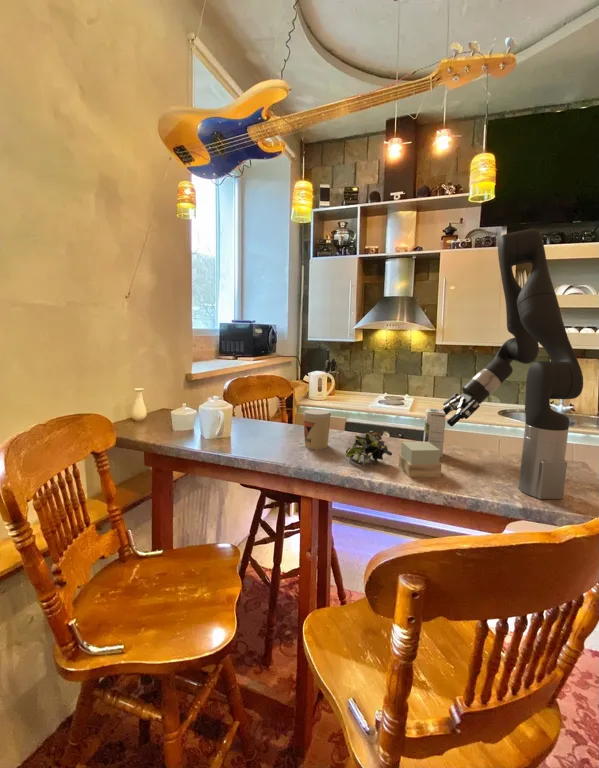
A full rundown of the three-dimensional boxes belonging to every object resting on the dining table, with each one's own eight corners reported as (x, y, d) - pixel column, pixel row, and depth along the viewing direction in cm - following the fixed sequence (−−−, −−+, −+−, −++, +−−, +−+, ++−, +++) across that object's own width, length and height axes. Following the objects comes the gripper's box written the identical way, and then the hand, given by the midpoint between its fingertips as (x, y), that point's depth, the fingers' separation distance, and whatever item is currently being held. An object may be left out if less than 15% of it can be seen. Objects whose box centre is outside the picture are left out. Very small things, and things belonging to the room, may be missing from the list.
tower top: (439, 464, 112) (440, 450, 111) (411, 464, 111) (412, 450, 110) (427, 454, 120) (428, 441, 119) (400, 455, 119) (401, 442, 118)
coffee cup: (299, 443, 141) (299, 409, 140) (324, 441, 144) (324, 408, 142) (307, 451, 133) (308, 415, 131) (334, 448, 135) (335, 413, 134)
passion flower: (373, 477, 126) (399, 449, 123) (361, 482, 116) (388, 451, 113) (348, 451, 130) (372, 423, 127) (334, 454, 121) (359, 424, 118)
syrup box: (422, 450, 135) (424, 408, 133) (440, 452, 134) (443, 409, 132) (423, 456, 130) (426, 411, 127) (443, 457, 128) (446, 413, 126)
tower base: (440, 478, 112) (441, 464, 112) (408, 478, 112) (409, 464, 111) (428, 467, 121) (429, 454, 120) (398, 467, 120) (399, 454, 120)
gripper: (463, 374, 136) (427, 408, 137) (485, 381, 122) (444, 418, 123) (477, 390, 137) (441, 423, 138) (500, 398, 123) (460, 435, 124)
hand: (443, 421), depth 130 cm, fingers open, 8 cm apart
